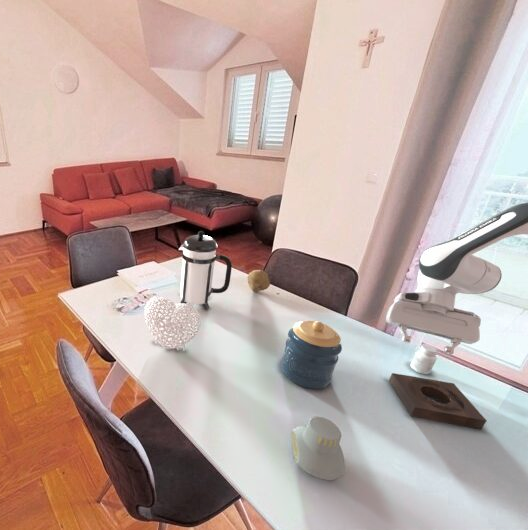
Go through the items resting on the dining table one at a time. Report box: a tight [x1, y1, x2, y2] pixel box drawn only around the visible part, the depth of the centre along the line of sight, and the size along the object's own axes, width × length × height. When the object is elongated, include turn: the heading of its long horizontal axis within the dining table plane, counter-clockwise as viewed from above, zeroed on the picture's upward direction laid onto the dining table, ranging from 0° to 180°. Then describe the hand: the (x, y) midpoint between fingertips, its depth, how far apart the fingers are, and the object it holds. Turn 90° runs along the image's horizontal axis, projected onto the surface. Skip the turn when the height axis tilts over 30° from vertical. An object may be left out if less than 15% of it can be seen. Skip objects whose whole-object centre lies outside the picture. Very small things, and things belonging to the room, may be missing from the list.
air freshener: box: [290, 416, 346, 481], centre depth 65 cm, size 11×8×10 cm
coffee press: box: [178, 230, 233, 310], centre depth 122 cm, size 17×16×30 cm
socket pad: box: [388, 372, 488, 430], centre depth 80 cm, size 14×12×3 cm
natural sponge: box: [247, 269, 271, 293], centre depth 133 cm, size 9×9×10 cm
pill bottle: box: [410, 344, 439, 375], centre depth 90 cm, size 4×4×8 cm
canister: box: [280, 320, 343, 390], centre depth 87 cm, size 13×13×18 cm
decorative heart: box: [143, 296, 201, 352], centre depth 98 cm, size 18×11×17 cm, turn 60°
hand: (426, 347), depth 91 cm, fingers open, 8 cm apart
